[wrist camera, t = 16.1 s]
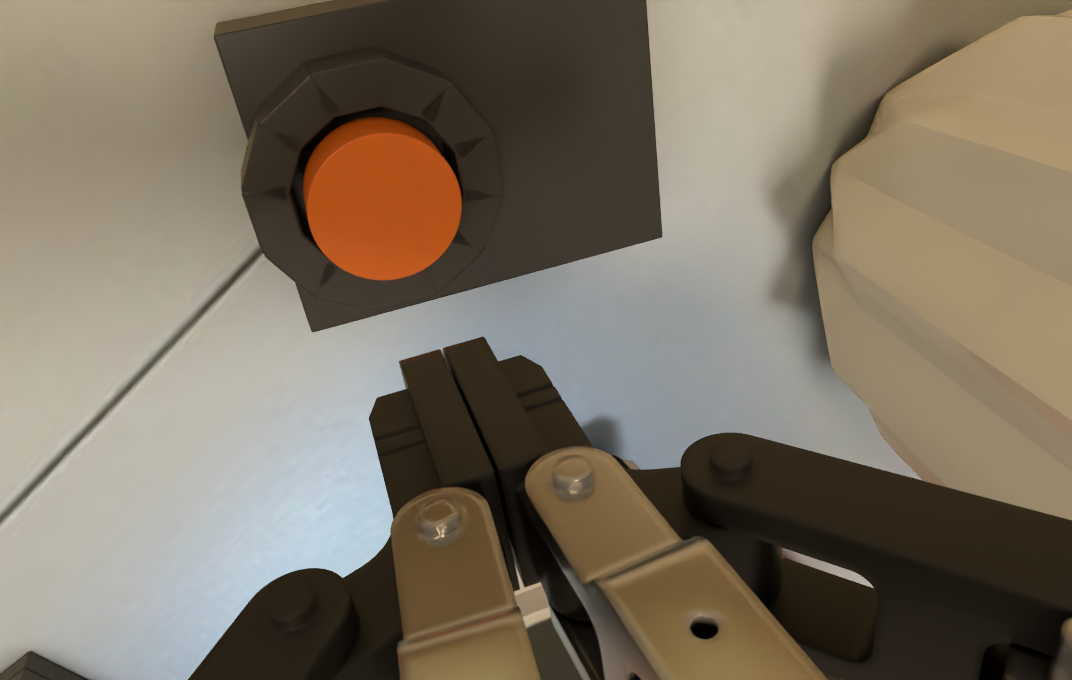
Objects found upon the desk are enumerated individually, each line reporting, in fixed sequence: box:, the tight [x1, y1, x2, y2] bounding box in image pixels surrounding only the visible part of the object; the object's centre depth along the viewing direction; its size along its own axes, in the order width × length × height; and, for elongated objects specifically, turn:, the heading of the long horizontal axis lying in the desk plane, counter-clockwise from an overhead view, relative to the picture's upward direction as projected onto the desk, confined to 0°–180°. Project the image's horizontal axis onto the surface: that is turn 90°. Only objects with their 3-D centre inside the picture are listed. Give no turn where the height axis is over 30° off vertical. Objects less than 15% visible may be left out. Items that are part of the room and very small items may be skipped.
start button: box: [303, 117, 462, 280], centre depth 22 cm, size 4×4×2 cm
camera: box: [514, 455, 640, 680], centre depth 31 cm, size 16×9×10 cm, turn 4°
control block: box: [214, 0, 662, 332], centre depth 25 cm, size 12×9×4 cm
